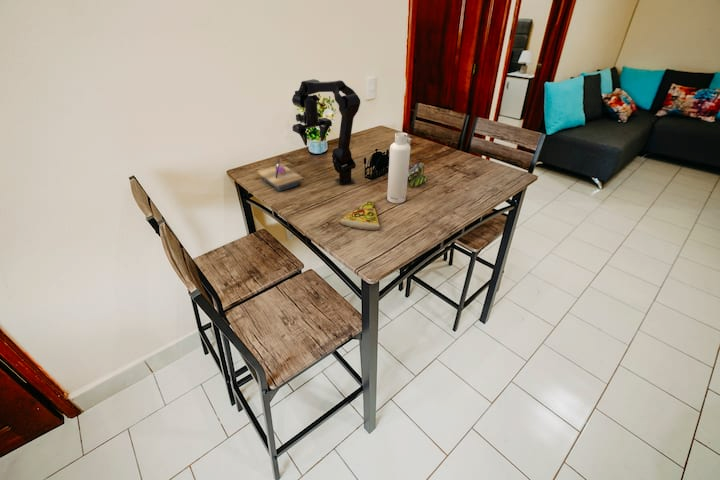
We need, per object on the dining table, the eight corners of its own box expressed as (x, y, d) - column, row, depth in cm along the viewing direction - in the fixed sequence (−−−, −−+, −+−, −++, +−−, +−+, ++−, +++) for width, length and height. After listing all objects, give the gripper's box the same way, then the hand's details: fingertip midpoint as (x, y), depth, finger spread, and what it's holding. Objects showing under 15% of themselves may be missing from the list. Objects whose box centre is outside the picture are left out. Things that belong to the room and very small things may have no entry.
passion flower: (407, 190, 163) (407, 165, 163) (429, 189, 159) (430, 164, 159) (402, 186, 152) (402, 160, 152) (426, 185, 149) (426, 158, 149)
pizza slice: (338, 226, 128) (338, 219, 126) (354, 200, 144) (354, 194, 142) (378, 232, 124) (378, 225, 123) (389, 205, 141) (390, 199, 139)
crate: (298, 184, 156) (298, 178, 154) (279, 191, 150) (278, 185, 149) (281, 173, 165) (280, 167, 164) (263, 179, 160) (262, 173, 158)
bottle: (383, 195, 147) (387, 132, 131) (400, 192, 150) (405, 129, 133) (391, 204, 141) (396, 139, 125) (409, 201, 143) (415, 136, 127)
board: (303, 179, 153) (303, 177, 153) (278, 187, 147) (277, 185, 146) (281, 165, 166) (281, 163, 165) (257, 172, 159) (256, 170, 158)
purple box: (277, 156, 155) (277, 164, 148) (288, 159, 157) (288, 167, 150) (274, 169, 159) (273, 177, 151) (285, 172, 160) (285, 180, 153)
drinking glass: (411, 158, 181) (413, 140, 175) (400, 160, 179) (401, 141, 173) (405, 153, 186) (407, 136, 180) (394, 155, 184) (396, 137, 178)
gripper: (318, 103, 163) (320, 134, 173) (284, 109, 154) (288, 143, 163) (331, 107, 156) (333, 140, 166) (297, 115, 147) (300, 149, 156)
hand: (314, 143), depth 163 cm, fingers open, 9 cm apart
